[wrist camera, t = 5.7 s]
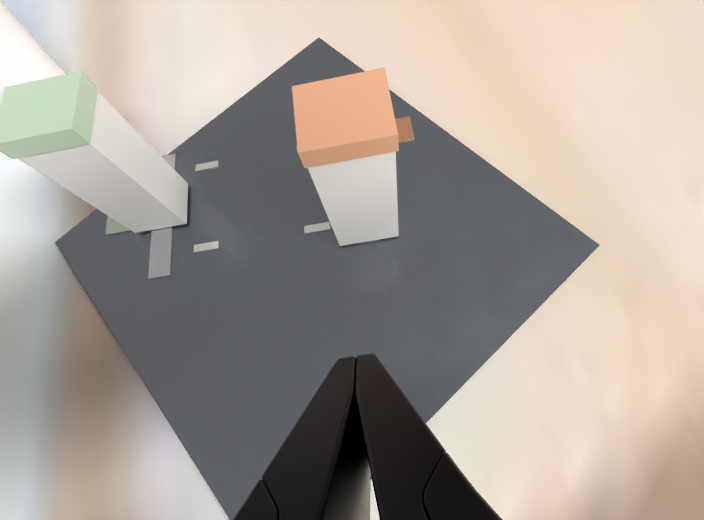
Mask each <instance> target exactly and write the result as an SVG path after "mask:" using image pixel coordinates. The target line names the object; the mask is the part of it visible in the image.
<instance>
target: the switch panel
mask: <svg viewBox="0 0 704 520" xmlns="http://www.w3.org/2000/svg"><path fill="white" fill-rule="evenodd" d="M360 72H365V71H364V70H362V69H361V68H359V67H358V66H357V65H355V64H354V63H353V62H351V61H350V60H349V59H347V58H346V57H345V56H343V55H342V54H341V53H339V52H338V51H336V50H335V49H334V48H332V47H331V46H330V45H328V44H327V43H326V42H324V41H323V40H322V39H320V38H318V39H316V40H315V41H314V42H312V43H311V44H310V45H309V46H307V47H306V48H305V49H303V50H302V51H301V52H300V53H298V54H297V55H296V56H294V57H293V58H292V59H291V60H289V61H288V62H287V63H285V64H284V65H283V66H282V67H280V68H279V69H278V70H276V71H275V72H274V73H272V74H271V75H270V76H269V77H267V78H266V79H265V80H263V81H262V82H261V83H260V84H258V85H257V86H256V87H254V88H253V89H252V90H251V91H249V92H248V93H247V94H245V95H244V96H243V97H242V98H240V99H239V100H238V101H236V102H235V103H234V104H233V105H231V106H230V107H229V108H227V109H226V110H225V111H224V112H222V113H221V114H220V115H218V116H217V117H216V118H214V119H213V120H212V121H211V122H209V123H208V124H207V125H205V126H204V127H203V128H202V129H200V130H199V131H198V132H196V133H195V134H194V135H193V136H191V137H190V138H189V139H187V140H186V141H185V142H184V143H182V144H181V145H180V146H178V147H177V148H176V149H175V150H173V151H172V152H171V153H169V154H168V155H166V156H161V157H162V158H163V159H164V160H165V161H166V162H167V163H168V164H169V165H170V166H171V167H172V168H173V169H174V170H175V171H176V172H177V173H178V174H179V175H180V176H181V177H182V178H183V179H184V180H185V181H186V182H187V183H188V202H187V224H183V225H177V226H171V227H166V228H160V229H154V230H149V231H143V232H137V233H134V232H133V231H131V230H130V229H128V228H127V227H125V226H123V225H122V224H120V223H119V222H117V221H115V220H114V219H112V218H111V217H109V216H108V215H106V214H104V213H103V212H101V211H100V210H98V209H97V210H96V211H95V212H93V213H92V214H91V215H89V216H88V217H87V218H86V219H84V220H83V221H82V222H80V223H79V224H78V225H77V226H75V227H74V228H73V229H71V230H70V231H69V232H68V233H66V234H65V235H64V236H62V237H61V238H60V239H58V240H57V241H56V242H55V243H56V244H57V246H58V247H59V249H60V251H61V252H62V254H63V255H64V257H65V259H66V260H67V262H68V263H69V265H70V266H71V268H72V270H73V271H74V273H75V274H76V276H77V278H78V279H79V281H80V282H81V284H82V285H83V287H84V289H85V290H86V292H87V293H88V295H89V297H90V298H91V300H92V301H93V303H94V305H95V306H96V308H97V309H98V311H99V312H100V314H101V316H102V317H103V319H104V320H105V322H106V324H107V325H108V327H109V328H110V330H111V331H112V333H113V335H114V336H115V338H116V339H117V341H118V343H119V344H120V346H121V347H122V349H123V351H124V352H125V354H126V355H127V357H128V358H129V360H130V362H131V363H132V365H133V366H134V368H135V370H136V371H137V373H138V374H139V376H140V378H141V379H142V381H143V382H144V384H145V385H146V387H147V389H148V390H149V392H150V393H151V395H152V397H153V398H154V400H155V401H156V403H157V404H158V406H159V408H160V409H161V411H162V412H163V414H164V416H165V417H166V419H167V420H168V422H169V424H170V425H171V427H172V428H173V430H174V431H175V433H176V435H177V436H178V438H179V439H180V441H181V443H182V444H183V446H184V447H185V449H186V450H187V452H188V454H189V455H190V457H191V458H192V460H193V462H194V463H195V465H196V466H197V468H198V470H199V471H200V473H201V474H202V476H203V477H204V479H205V481H206V482H207V484H208V485H209V487H210V489H211V490H212V492H213V493H214V495H215V496H216V498H217V500H218V501H219V503H220V504H221V506H222V508H223V509H224V511H225V512H226V514H227V516H228V517H229V519H230V520H233V518H234V517H235V515H236V514H237V512H238V511H239V510H240V508H241V507H242V505H243V504H244V502H245V501H246V499H247V498H248V496H249V495H250V493H251V492H252V490H253V489H254V487H255V486H256V484H257V482H258V481H259V480H262V475H263V474H264V472H265V470H266V469H267V467H268V466H269V464H270V463H271V461H272V460H273V458H274V457H275V455H276V453H277V452H278V450H279V449H280V447H281V446H282V444H283V443H284V441H285V440H286V438H287V437H288V435H289V433H290V432H291V430H292V429H293V427H294V426H295V424H296V423H297V421H298V420H299V418H300V416H301V415H302V413H303V412H304V410H305V409H306V407H307V406H308V404H309V403H310V401H311V399H312V398H313V396H314V395H315V393H316V392H317V390H318V389H319V387H320V386H321V384H322V383H323V381H324V379H325V378H326V376H327V375H328V373H329V372H330V370H331V369H332V367H333V366H334V364H335V362H336V361H337V360H338V359H340V358H345V357H351V356H354V357H355V358H357V356H358V355H363V354H369V353H374V354H375V355H376V356H377V358H378V359H379V360H380V362H381V363H382V365H383V366H384V367H385V369H386V370H387V371H388V373H389V374H390V376H391V377H392V378H393V380H394V381H395V382H396V384H397V385H398V386H399V388H400V389H401V391H402V392H403V393H404V395H405V396H406V397H407V399H408V400H409V401H410V403H411V404H412V406H413V407H414V408H415V410H416V411H417V412H418V414H419V415H420V416H421V418H422V419H423V421H424V422H425V423H427V422H428V421H429V419H430V418H431V417H432V416H433V415H434V414H435V413H436V412H437V411H438V410H439V409H440V408H441V407H442V406H443V405H444V404H445V403H446V402H447V401H448V400H449V399H450V398H451V397H452V396H453V395H454V394H455V393H456V392H457V391H458V390H459V389H460V388H461V387H462V386H463V385H464V384H465V383H466V382H467V381H468V380H469V378H470V377H471V376H472V375H473V374H474V373H475V372H476V371H477V370H478V369H479V368H480V367H481V366H482V365H483V364H484V363H485V362H486V361H487V360H488V359H489V358H490V357H491V356H492V355H493V354H494V353H495V352H496V351H497V350H498V349H499V348H500V347H501V346H502V345H503V344H504V343H505V342H506V341H507V340H508V339H509V337H510V336H511V335H512V334H513V333H514V332H515V331H516V330H517V329H518V328H519V327H520V326H521V325H522V324H523V323H524V322H525V321H526V320H527V319H528V318H529V317H530V316H531V315H532V314H533V313H534V312H535V311H536V310H537V309H538V308H539V307H540V306H541V305H542V304H543V303H544V302H545V301H546V300H547V299H548V298H549V297H550V295H551V294H552V293H553V292H554V291H555V290H556V289H557V288H558V287H559V286H560V285H561V284H562V283H563V282H564V281H565V280H566V279H567V278H568V277H569V276H570V275H571V274H572V273H573V272H574V271H575V270H576V269H577V268H578V267H579V266H580V265H581V264H582V263H583V262H584V261H585V260H586V259H587V258H588V257H589V256H590V254H591V253H592V252H593V251H594V250H595V249H596V248H597V247H598V246H599V244H598V243H596V242H595V241H593V240H592V239H591V238H589V237H588V236H587V235H585V234H584V233H583V232H581V231H580V230H579V229H577V228H576V227H575V226H573V225H572V224H570V223H569V222H568V221H566V220H565V219H564V218H562V217H561V216H560V215H558V214H557V213H556V212H554V211H553V210H552V209H550V208H549V207H547V206H546V205H545V204H543V203H542V202H541V201H539V200H538V199H537V198H535V197H534V196H533V195H531V194H530V193H529V192H527V191H526V190H524V189H523V188H522V187H520V186H519V185H518V184H516V183H515V182H514V181H512V180H511V179H510V178H508V177H507V176H506V175H504V174H503V173H501V172H500V171H499V170H497V169H496V168H495V167H493V166H492V165H491V164H489V163H488V162H487V161H485V160H484V159H483V158H481V157H480V156H478V155H477V154H476V153H474V152H473V151H472V150H470V149H469V148H468V147H466V146H465V145H464V144H462V143H461V142H460V141H458V140H457V139H455V138H454V137H453V136H451V135H450V134H449V133H447V132H446V131H445V130H443V129H442V128H441V127H439V126H438V125H437V124H435V123H434V122H432V121H431V120H430V119H428V118H427V117H426V116H424V115H423V114H422V113H420V112H419V111H418V110H416V109H415V108H414V107H412V106H411V105H409V104H408V103H407V102H405V101H404V100H403V99H401V98H400V97H399V96H397V95H396V94H395V93H393V92H392V91H391V90H389V92H390V97H391V102H392V107H393V111H394V116H395V121H396V126H397V131H398V145H399V151H396V174H397V202H398V231H399V236H397V237H391V238H385V239H379V240H373V241H367V242H361V243H355V244H349V245H343V246H340V245H339V243H338V241H337V238H336V236H335V233H334V231H333V228H332V226H331V224H330V221H329V219H328V216H327V214H326V211H325V209H324V207H323V204H322V202H321V199H320V197H319V194H318V192H317V190H316V187H315V185H314V182H313V180H312V177H311V175H310V173H309V170H308V168H304V166H303V164H302V162H301V159H300V157H299V154H298V149H297V138H296V127H295V116H294V105H293V94H292V86H295V85H300V84H305V83H310V82H315V81H320V80H325V79H330V78H335V77H340V76H345V75H350V74H355V73H360ZM371 479H372V477H371V478H370V480H371Z"/></svg>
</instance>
